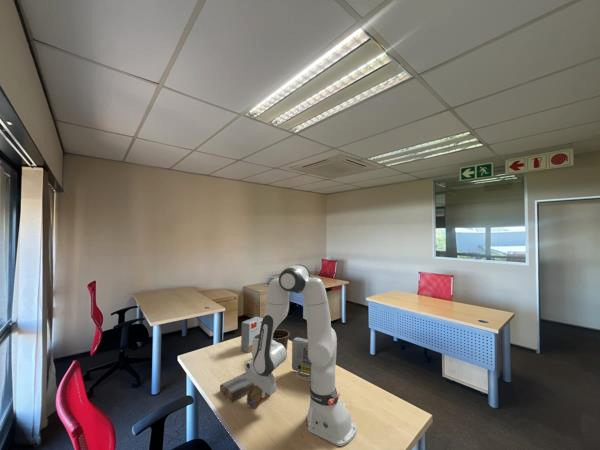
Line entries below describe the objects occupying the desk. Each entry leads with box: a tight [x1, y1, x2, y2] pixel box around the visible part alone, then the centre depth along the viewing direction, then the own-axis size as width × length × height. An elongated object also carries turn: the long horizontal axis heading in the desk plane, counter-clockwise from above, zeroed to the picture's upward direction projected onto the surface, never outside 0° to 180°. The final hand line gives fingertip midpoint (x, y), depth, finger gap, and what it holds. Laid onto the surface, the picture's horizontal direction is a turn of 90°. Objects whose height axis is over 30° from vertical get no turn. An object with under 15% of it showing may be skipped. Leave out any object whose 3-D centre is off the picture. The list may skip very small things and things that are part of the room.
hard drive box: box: [240, 316, 263, 353], centre depth 181 cm, size 16×8×20 cm, turn 147°
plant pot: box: [272, 328, 290, 351], centre depth 167 cm, size 16×16×16 cm
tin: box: [246, 386, 272, 408], centre depth 123 cm, size 15×3×8 cm, turn 138°
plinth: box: [219, 372, 254, 403], centre depth 134 cm, size 12×20×4 cm, turn 137°
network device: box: [291, 337, 312, 382], centre depth 145 cm, size 26×9×20 cm, turn 65°
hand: (260, 395), depth 123 cm, fingers closed on tin, 3 cm apart
